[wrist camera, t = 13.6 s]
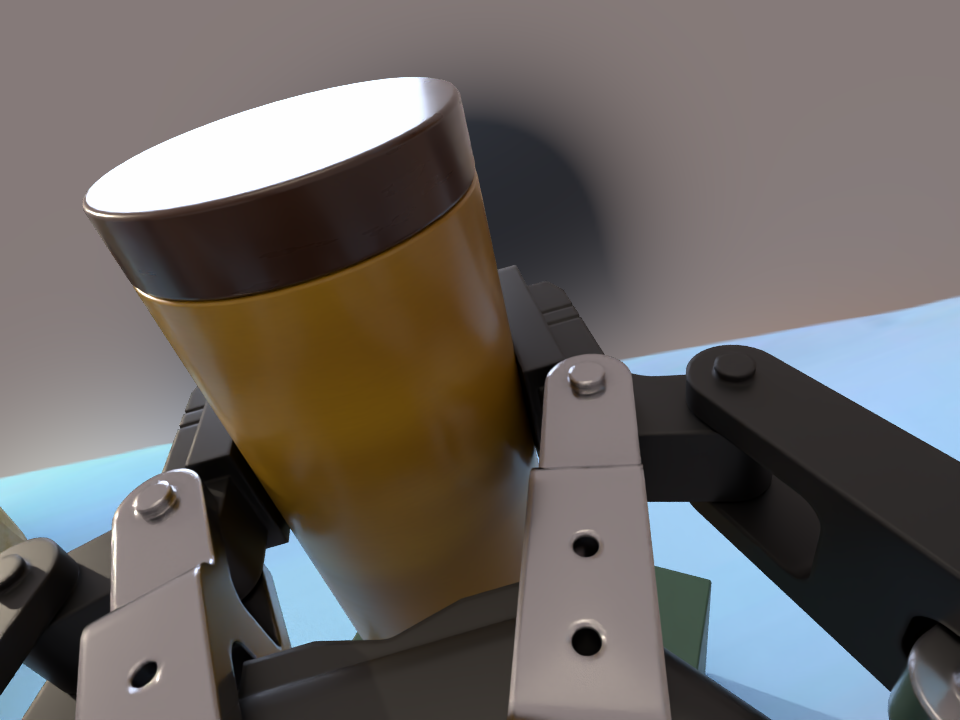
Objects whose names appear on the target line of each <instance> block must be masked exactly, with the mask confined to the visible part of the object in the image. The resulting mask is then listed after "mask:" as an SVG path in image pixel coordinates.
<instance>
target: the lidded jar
mask: <svg viewBox="0 0 960 720" xmlns="http://www.w3.org/2000/svg"><path fill="white" fill-rule="evenodd" d="M83 209H84V212H85V213H86V215H87V217H88V218H89V220H90V221H91V223H92V224H93V226H94V227H95V229H96V230H97V232H98V233H99V235H100V237H101V238H102V240H103V241H104V243H105V244H106V246H107V247H108V249H109V250H110V252H111V253H112V255H113V256H114V258H115V260H116V261H117V263H118V264H119V266H120V267H121V269H122V270H123V272H124V273H125V275H126V277H127V278H128V279H129V281H130V282H131V284H132V285H133V287H134V289H135V290H136V292H137V293H138V295H139V296H140V298H141V300H142V301H143V303H144V304H145V306H146V307H147V309H148V310H149V312H150V313H151V315H152V317H153V318H154V320H155V321H156V322H157V324H158V326H159V327H160V329H161V330H162V332H163V333H164V335H165V336H166V338H167V340H168V341H169V343H170V344H171V346H172V347H173V349H174V350H175V352H176V353H177V355H178V356H179V358H180V360H181V361H182V362H183V364H184V366H185V367H186V369H187V370H188V372H189V373H190V375H191V376H192V378H193V380H194V381H195V383H196V384H197V386H198V387H199V389H200V390H201V392H202V393H203V395H204V396H205V398H206V400H207V401H208V403H209V404H210V406H211V407H212V409H213V410H214V412H215V413H216V415H217V416H218V418H219V420H220V421H221V423H222V424H223V426H224V427H225V429H226V430H227V432H228V433H229V435H230V436H231V438H232V439H233V441H234V443H235V444H236V446H237V447H238V449H239V450H240V452H241V453H242V455H243V456H244V458H245V459H246V461H247V463H248V464H249V466H250V467H251V469H252V470H253V472H254V473H255V475H256V476H257V478H258V479H259V481H260V483H261V484H262V486H263V487H264V489H265V490H266V492H267V493H268V495H269V496H270V498H271V499H272V501H273V503H274V504H275V506H276V507H277V509H278V510H279V512H280V513H281V515H282V516H283V518H284V519H285V521H286V523H287V524H288V526H289V527H290V529H291V530H292V532H293V533H294V535H295V536H296V538H297V539H298V541H299V542H300V544H301V546H302V547H303V549H304V550H305V552H306V553H307V555H308V556H309V558H310V559H311V561H312V562H313V564H314V566H315V567H316V569H317V570H318V572H319V573H320V575H321V576H322V578H323V579H324V581H325V582H326V584H327V586H328V587H329V589H330V590H331V592H332V593H333V595H334V596H335V598H336V599H337V601H338V602H339V604H340V606H341V607H342V609H343V610H344V612H345V613H346V615H347V616H348V618H349V619H350V621H351V622H352V624H353V626H354V627H355V629H356V630H357V632H358V633H359V635H360V636H361V638H362V639H363V640H381V639H388V638H391V637H393V636H396V635H397V634H399V633H401V632H403V631H405V630H406V629H408V628H410V627H412V626H413V625H415V624H417V623H419V622H421V621H422V620H424V619H426V618H428V617H429V616H431V615H433V614H435V613H436V612H438V611H440V610H442V609H444V608H445V607H447V606H449V605H451V604H452V603H454V602H456V601H458V600H459V599H462V598H465V597H468V596H472V595H475V594H479V593H482V592H486V591H489V590H493V589H496V588H499V587H503V586H506V585H510V584H513V583H517V582H520V572H521V561H522V550H523V539H524V527H525V516H526V505H527V494H528V483H529V475H530V471H531V469H532V468H535V467H539V463H538V458H537V453H536V449H535V446H534V441H533V436H532V432H531V427H530V422H529V418H528V413H527V408H526V403H525V399H524V394H523V389H522V385H521V380H520V375H519V371H518V366H517V361H516V357H515V352H514V346H513V341H512V336H511V331H510V326H509V322H508V317H507V312H506V308H505V303H504V298H503V294H502V289H501V284H500V279H499V275H498V270H497V265H496V261H495V257H494V251H493V247H492V242H491V237H490V233H489V228H488V223H487V218H486V214H485V209H484V204H483V200H482V195H481V190H480V185H479V181H478V176H477V172H476V170H475V162H474V157H473V153H472V148H471V143H470V138H469V134H468V129H467V124H466V120H465V115H464V110H463V106H462V101H461V96H460V93H459V92H458V90H457V89H456V87H455V86H454V85H453V84H451V83H449V82H448V81H444V80H440V79H433V78H423V77H407V78H392V79H382V80H374V81H368V82H361V83H356V84H350V85H345V86H339V87H335V88H330V89H325V90H321V91H317V92H313V93H308V94H305V95H300V96H296V97H293V98H289V99H285V100H281V101H278V102H274V103H271V104H267V105H264V106H261V107H258V108H254V109H251V110H248V111H245V112H242V113H239V114H236V115H233V116H230V117H227V118H224V119H221V120H219V121H216V122H213V123H210V124H208V125H205V126H202V127H200V128H197V129H194V130H192V131H189V132H187V133H185V134H182V135H180V136H177V137H175V138H173V139H170V140H168V141H166V142H164V143H161V144H159V145H157V146H155V147H153V148H151V149H149V150H147V151H145V152H143V153H141V154H139V155H137V156H135V157H133V158H131V159H129V160H128V161H126V162H124V163H123V164H121V165H119V166H118V167H116V168H115V169H113V170H111V171H110V172H109V173H107V174H106V175H104V176H103V177H102V178H101V179H100V180H98V181H97V182H96V183H95V184H94V185H93V186H92V187H91V188H90V189H89V190H88V191H87V192H86V194H85V196H84V198H83Z"/></svg>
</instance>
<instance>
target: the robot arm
mask: <svg viewBox="0 0 960 720" xmlns="http://www.w3.org/2000/svg"><path fill="white" fill-rule="evenodd" d="M498 275H499V279H500V284H501V289H502V294H503V298H504V303H505V308H506V312H507V317H508V322H509V326H510V331H511V336H512V341H513V346H514V352H515V357H516V361H517V366H518V371H519V375H520V380H521V385H522V389H523V394H524V399H525V403H526V408H527V413H528V418H529V422H530V427H531V432H532V436H533V441H534V446H535V448H536V451H537V454H538V456H539V467H535V468H532V469H531V471H530V475H529V483H528V494H527V505H526V516H525V527H524V539H523V550H522V561H521V572H520V582H517V583H513V584H510V585H506V586H503V587H499V588H496V589H493V590H489V591H486V592H482V593H479V594H475V595H472V596H468V597H465V598H462V599H459V600H458V601H456V602H454V603H452V604H451V605H449V606H447V607H445V608H444V609H442V610H440V611H438V612H436V613H435V614H433V615H431V616H429V617H428V618H426V619H424V620H422V621H421V622H419V623H417V624H415V625H413V626H412V627H410V628H408V629H406V630H405V631H403V632H401V633H399V634H397V635H396V636H393V637H391V638H388V639H381V640H346V641H314V642H311V643H307V644H304V645H300V646H297V647H294V648H292V647H291V644H290V640H289V636H288V633H287V629H286V625H285V622H284V618H283V614H282V611H281V607H280V603H279V600H278V596H277V592H276V589H275V585H274V581H273V578H272V575H271V573H270V571H269V570H268V568H267V567H266V566H265V564H264V558H265V551H266V549H267V548H270V547H274V546H277V545H281V544H284V543H288V542H289V533H290V527H289V526H288V524H287V523H286V521H285V519H284V518H283V516H282V515H281V513H280V512H279V510H278V509H277V507H276V506H275V504H274V503H273V501H272V499H271V498H270V496H269V495H268V493H267V492H266V490H265V489H264V487H263V486H262V484H261V483H260V481H259V479H258V478H257V476H256V475H255V473H254V472H253V470H252V469H251V467H250V466H249V464H248V463H247V461H246V459H245V458H244V456H243V455H242V453H241V452H240V450H239V449H238V447H237V446H236V444H235V443H234V441H233V439H232V438H231V436H230V435H229V433H228V432H227V430H226V429H225V427H224V426H223V424H222V423H221V421H220V420H219V418H218V416H217V415H216V413H215V412H214V410H213V409H212V407H211V406H210V404H209V403H208V401H207V400H206V398H205V396H204V395H203V393H202V392H201V390H200V389H199V387H198V386H197V387H196V388H195V390H194V391H193V392H192V393H191V396H190V398H189V401H188V404H187V406H186V409H185V412H186V414H184V415H183V417H182V420H181V423H180V425H179V426H180V429H178V431H177V433H176V436H175V439H174V441H173V444H172V447H171V450H170V452H169V455H168V458H167V460H166V463H165V466H164V468H163V471H162V473H161V474H159V475H156V476H154V477H152V478H150V479H149V480H147V481H145V482H144V483H142V484H141V485H139V486H138V487H137V488H136V489H134V490H133V491H132V492H131V493H130V494H129V495H128V496H127V497H126V498H125V499H124V500H123V501H122V503H121V504H120V505H119V507H118V508H117V510H116V512H115V514H114V517H113V520H112V530H110V531H109V532H107V533H105V534H103V535H101V536H99V537H97V538H95V539H93V540H91V541H89V542H87V543H85V544H83V545H82V546H80V547H78V548H76V549H74V550H72V551H70V552H68V553H66V552H65V551H64V550H63V549H62V548H61V547H60V546H59V545H58V544H57V543H55V542H54V541H53V540H51V539H49V538H33V539H30V540H26V541H23V542H21V543H18V544H16V545H14V546H12V547H10V548H8V549H6V550H5V551H3V552H1V553H0V695H1V694H2V692H3V691H4V689H5V688H6V687H7V685H8V684H9V682H10V681H11V679H12V678H13V676H14V675H15V673H16V672H17V671H18V669H19V668H20V666H21V665H22V663H23V664H25V665H26V666H27V667H29V668H30V669H32V670H33V671H35V672H36V673H37V674H39V675H40V676H42V677H43V678H45V679H46V680H47V681H46V682H45V684H44V685H43V687H42V688H41V690H40V691H39V693H38V695H37V696H36V698H35V699H34V701H33V702H32V704H31V706H30V707H29V709H28V710H27V712H26V713H25V715H24V716H23V718H22V720H771V719H770V718H768V717H767V716H765V715H764V714H762V713H761V712H759V711H758V710H756V709H755V708H753V707H752V706H750V705H749V704H747V703H746V702H745V701H743V700H742V699H740V698H739V697H737V696H736V695H734V694H733V693H731V692H730V691H728V690H727V689H725V688H724V687H722V686H721V685H719V684H718V683H716V682H715V681H713V680H712V679H710V678H709V677H707V676H706V675H705V674H703V673H702V672H700V671H699V670H697V669H696V668H694V667H693V666H691V665H690V664H688V663H687V662H685V661H684V660H682V659H681V658H679V657H678V656H676V655H675V654H673V653H672V652H670V651H669V650H667V649H666V648H665V647H663V640H662V631H661V622H660V613H659V604H658V595H657V586H656V577H655V568H654V559H653V550H652V541H651V532H650V523H649V514H648V505H647V502H690V504H691V505H692V506H693V507H694V508H695V509H696V510H697V511H698V512H699V513H700V514H701V515H702V516H703V517H704V518H705V519H706V520H708V521H709V522H710V523H711V524H712V525H713V526H714V527H715V528H716V529H717V530H718V531H719V532H720V533H721V534H722V535H724V536H725V537H726V538H727V539H728V540H729V541H730V542H731V543H732V544H733V545H734V546H735V547H736V548H737V549H738V550H740V551H741V552H742V553H743V554H744V555H745V556H746V557H747V558H748V559H749V560H750V561H751V562H752V563H753V564H755V565H756V566H757V567H758V568H759V569H760V570H761V571H762V572H763V573H764V574H765V575H766V576H767V577H768V578H769V579H771V580H772V581H773V582H774V583H775V584H776V585H777V586H778V587H779V588H780V589H781V590H782V591H783V592H784V593H785V594H787V595H788V596H789V597H790V598H791V599H792V600H793V601H794V602H795V603H796V604H797V605H798V606H799V607H800V608H802V609H803V610H804V611H805V612H806V613H807V614H808V615H809V616H810V617H811V618H812V619H813V620H814V621H815V622H816V623H818V624H819V625H820V626H821V627H822V628H823V629H824V630H825V631H826V632H827V633H828V634H829V635H830V636H831V637H833V638H834V639H835V640H836V641H837V642H838V643H839V644H840V645H841V646H842V647H843V648H844V649H845V650H846V651H847V652H849V653H850V654H851V655H852V656H853V657H854V658H855V659H856V660H857V661H858V662H859V663H860V664H861V665H862V666H863V667H865V668H866V669H867V670H868V671H869V672H870V673H871V674H872V675H873V676H874V677H875V678H876V679H877V680H878V681H880V682H881V683H882V684H883V685H884V686H885V687H886V688H887V689H888V690H889V691H890V692H891V693H890V697H889V700H888V716H889V720H960V462H959V461H957V460H956V459H954V458H952V457H950V456H949V455H947V454H945V453H943V452H942V451H940V450H938V449H936V448H935V447H933V446H931V445H929V444H927V443H926V442H924V441H922V440H920V439H919V438H917V437H915V436H913V435H912V434H910V433H908V432H906V431H905V430H903V429H901V428H899V427H897V426H896V425H894V424H892V423H890V422H889V421H887V420H885V419H883V418H882V417H880V416H878V415H876V414H875V413H873V412H871V411H869V410H867V409H866V408H864V407H862V406H860V405H859V404H857V403H855V402H853V401H852V400H850V399H848V398H846V397H845V396H843V395H841V394H839V393H837V392H836V391H834V390H832V389H830V388H829V387H827V386H825V385H823V384H822V383H820V382H818V381H816V380H815V379H813V378H811V377H809V376H807V375H806V374H804V373H802V372H800V371H799V370H797V369H795V368H793V367H792V366H790V365H788V364H786V363H784V362H783V361H781V360H779V359H777V358H776V357H774V356H772V355H770V354H768V353H766V352H764V351H762V350H759V349H756V348H753V347H748V346H742V345H722V346H716V347H712V348H709V349H706V350H704V351H701V352H700V353H698V354H697V355H695V356H694V357H693V358H692V359H691V360H690V361H689V363H688V365H687V368H686V375H672V376H642V375H636V374H632V373H631V372H630V370H629V368H628V367H627V366H626V365H625V364H624V363H623V362H621V361H620V360H618V359H616V358H614V357H610V356H607V355H605V354H604V353H603V351H602V350H601V348H600V347H599V345H598V344H597V342H596V340H595V339H594V337H593V336H592V334H591V333H590V331H589V329H588V328H587V326H586V325H585V323H584V321H583V320H582V318H581V317H579V314H578V312H577V310H576V309H575V307H574V306H572V303H571V301H570V300H569V298H568V296H567V295H566V293H565V292H564V290H563V289H561V288H559V287H557V286H555V285H553V284H551V283H549V282H548V281H544V282H540V283H536V284H533V285H530V286H527V285H526V283H525V281H524V279H523V277H522V275H521V273H520V271H519V270H518V268H517V266H516V265H514V266H511V267H507V268H503V269H500V270H498Z"/></svg>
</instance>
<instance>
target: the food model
mask: <svg viewBox="0 0 960 720" xmlns="http://www.w3.org/2000/svg"><path fill="white" fill-rule="evenodd" d="M26 540H27V539H26V537H25V536H24V534H23V533H22V531H21V530H20V529H19V528H18V527H17V525H16V524H15V523H14V522H13V521H12V519H11V518H10V517H9V516H8V515H7V514H6V513H5V511H4V510H3V509H2V508H1V507H0V553H1V552H3V551H5V550H6V549H8V548H10V547H12V546H14V545H16V544H18V543H21V542H23V541H26Z"/></svg>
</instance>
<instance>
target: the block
mask: <svg viewBox="0 0 960 720" xmlns="http://www.w3.org/2000/svg"><path fill="white" fill-rule="evenodd" d="M654 568H655V577H656V586H657V595H658V604H659V613H660V622H661V631H662V640H663V647H665V648H666V649H667V650H669V651H670V652H672V653H673V654H675V655H676V656H678V657H679V658H681V659H682V660H684V661H685V662H687V663H688V664H690V665H691V666H693V667H694V668H696V669H697V670H699V671H700V672H702V673H703V674H705V668H706V654H707V639H708V625H709V611H710V596H711V581H710V580H708V579H704V578H700V577H696V576H692V575H688V574H684V573H680V572H676V571H672V570H669V569H665V568H661V567H657V566H654ZM353 640H363V639H362V638H361V636H360V635H359V633H358V632H357V633H356V635H355V637H354V638H353Z"/></svg>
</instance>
